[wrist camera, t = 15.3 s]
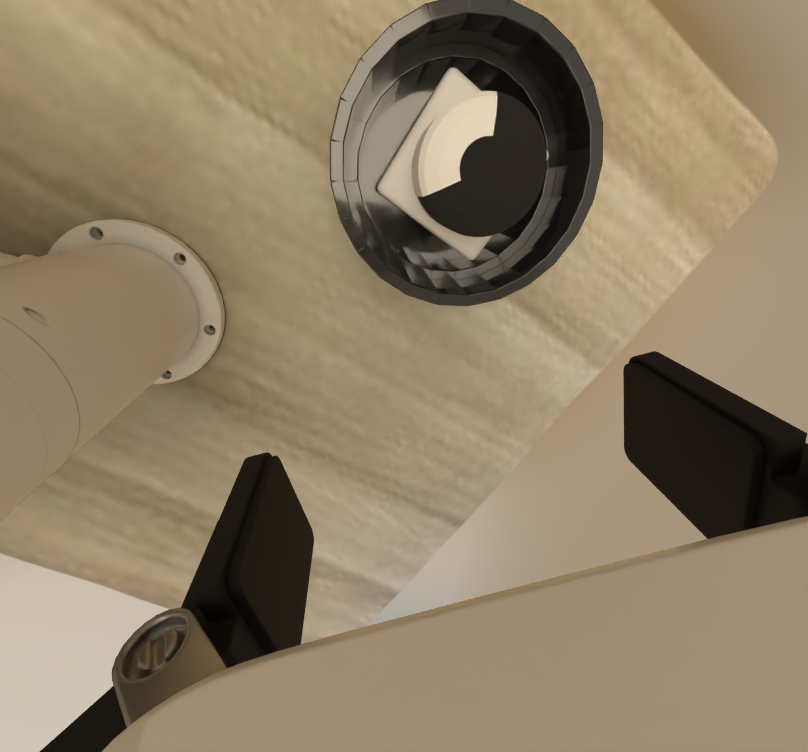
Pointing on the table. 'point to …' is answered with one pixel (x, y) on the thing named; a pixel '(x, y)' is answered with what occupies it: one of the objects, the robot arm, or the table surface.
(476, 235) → the medicine bottle
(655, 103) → the table surface
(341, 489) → the table surface
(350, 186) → the bucket
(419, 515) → the table surface
